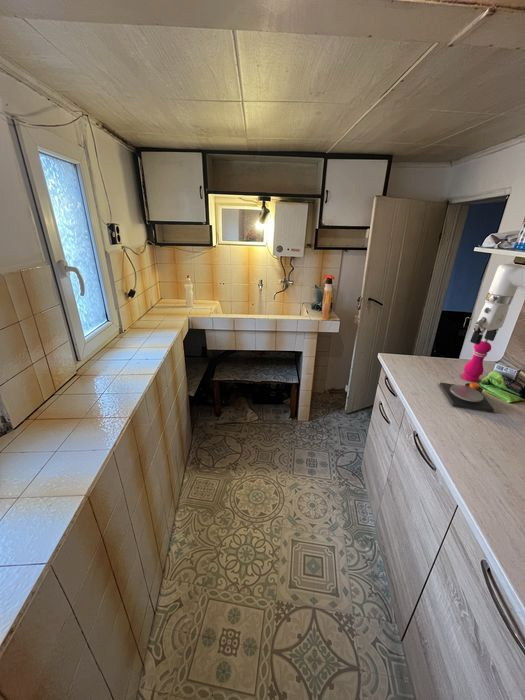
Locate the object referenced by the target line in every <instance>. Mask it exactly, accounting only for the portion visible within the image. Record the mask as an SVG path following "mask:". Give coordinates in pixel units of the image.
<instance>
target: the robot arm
mask: <svg viewBox="0 0 525 700" xmlns="http://www.w3.org/2000/svg"><path fill="white" fill-rule="evenodd" d="M518 288H521V289H525V266H523V265H521V264H515V263H514V264H513V263H502V264H500V265H498V267H497V268H496V271H495V273H494V277H493V279H492V281H491V284H490V287H489V289H488V293H487V295H486V298H485V300H484V302H485V304H484V305H483V307H482V309H481V311H480V313H479V316H478V317H477V318H478V319H477V321H476V322H475V324H474V327H473V331H472V335H471V337H470V340H469V342H470V343H472V344H474V345H475V344H477V345H479V344H480V342H481V341H483V339H487V340H488V341H490V342H493V341H494V340H495V339H496V336H497V334H498V332H499V329H502V327H503V326H504V323H505V321H506V318H507V315H508V312H509V309H510V306H511V304H512V301H513V299H514V297H515V294H516V292H517V290H518ZM485 332H486V333H485ZM484 333H485V334H484ZM483 336H484V337H483Z"/></svg>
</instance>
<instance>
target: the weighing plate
mask: <svg viewBox="0 0 525 700" xmlns="http://www.w3.org/2000/svg"><path fill="white" fill-rule="evenodd" d="M450 391H451V393H452V394H454V395H455V396H457V397H459V398H461V399H463V400H467V401H471V402H480V401H482V400H483V398H484V397H485V396H484V395H483V393H480V392H479V391H477V390H475V389H473V388H470V387H467V386H465V385H462V384H455V385H453V386H451V388H450ZM483 396H484V397H483Z"/></svg>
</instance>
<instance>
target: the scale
mask: <svg viewBox="0 0 525 700" xmlns="http://www.w3.org/2000/svg"><path fill="white" fill-rule="evenodd" d="M470 383H471V382H467V383H465V384H464V386H467V387H469V386H470ZM438 385H439V387H440V389H441V391H442V392H443V394H444V396H445V397H446V399H447V400H448V402H449V403H450V405H451V407H455V408H461V409H467V410H474V411H480V412H486V413H487V412H488V413H492V414H493V413H494V412H495V408H494V407H493V405H492V404H491V403H490V402H489V400H487V398H486V397H485V396H484V395H483V397H484V398H483V400H482V401H480V402H471V401H467V400H463V399H461V398H459V397H457V396H455V395H454V394H452V393H451V391H450V388H451V386H453V385H456V384H455V383H447V382H439V383H438ZM475 390H476V389H475ZM477 391H479V392H480V393H481V394H483V391H484V388H483V387H482V386H480V387H479V389H478V390H477Z"/></svg>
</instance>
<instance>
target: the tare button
mask: <svg viewBox="0 0 525 700" xmlns="http://www.w3.org/2000/svg"><path fill="white" fill-rule="evenodd" d="M469 383H470V386H469V387H470V388H473V389H476V390H478V389H479V387H481V384H479V383H477V382H471V381H470V382H469Z"/></svg>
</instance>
